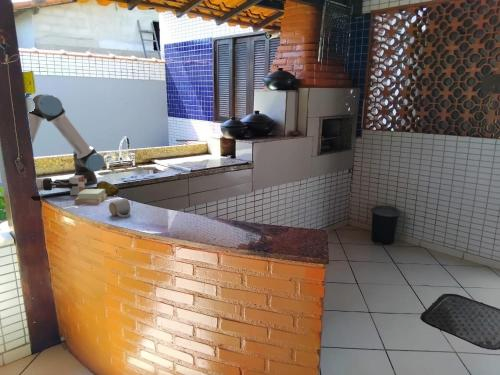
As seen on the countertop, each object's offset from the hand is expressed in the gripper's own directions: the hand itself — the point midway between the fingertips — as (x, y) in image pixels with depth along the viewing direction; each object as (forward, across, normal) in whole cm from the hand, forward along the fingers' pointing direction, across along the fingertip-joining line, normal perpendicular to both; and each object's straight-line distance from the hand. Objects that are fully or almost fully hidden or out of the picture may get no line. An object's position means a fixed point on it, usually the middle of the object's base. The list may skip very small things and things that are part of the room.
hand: (85, 182), depth 220 cm
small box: (-5, 0, -7) cm, 8 cm away
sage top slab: (+5, +18, -4) cm, 19 cm away
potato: (+13, +6, -7) cm, 15 cm away
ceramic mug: (+23, +50, -7) cm, 55 cm away
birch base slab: (+5, +18, -7) cm, 20 cm away
